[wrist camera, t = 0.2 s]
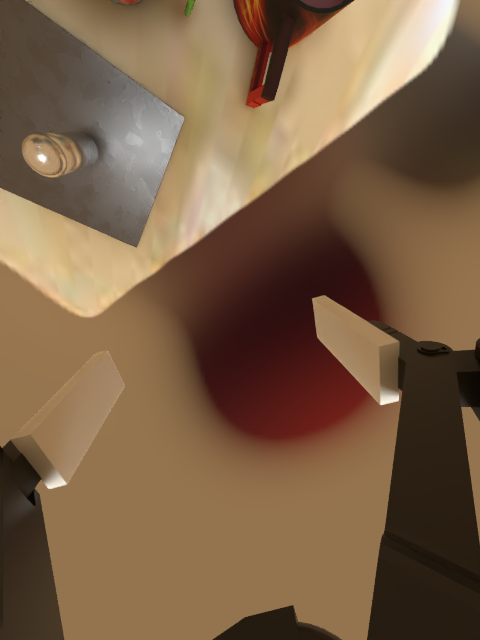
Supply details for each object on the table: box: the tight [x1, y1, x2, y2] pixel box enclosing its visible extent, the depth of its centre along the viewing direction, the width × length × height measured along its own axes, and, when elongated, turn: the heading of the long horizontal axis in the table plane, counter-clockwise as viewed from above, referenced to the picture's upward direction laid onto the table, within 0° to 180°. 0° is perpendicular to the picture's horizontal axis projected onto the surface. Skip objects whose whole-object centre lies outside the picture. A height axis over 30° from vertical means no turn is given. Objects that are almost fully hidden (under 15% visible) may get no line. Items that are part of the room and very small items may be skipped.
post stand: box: [0, 0, 185, 248], centre depth 25 cm, size 18×18×12 cm
